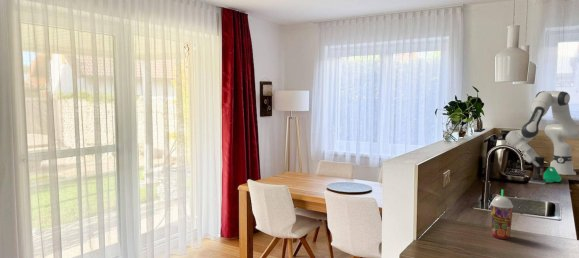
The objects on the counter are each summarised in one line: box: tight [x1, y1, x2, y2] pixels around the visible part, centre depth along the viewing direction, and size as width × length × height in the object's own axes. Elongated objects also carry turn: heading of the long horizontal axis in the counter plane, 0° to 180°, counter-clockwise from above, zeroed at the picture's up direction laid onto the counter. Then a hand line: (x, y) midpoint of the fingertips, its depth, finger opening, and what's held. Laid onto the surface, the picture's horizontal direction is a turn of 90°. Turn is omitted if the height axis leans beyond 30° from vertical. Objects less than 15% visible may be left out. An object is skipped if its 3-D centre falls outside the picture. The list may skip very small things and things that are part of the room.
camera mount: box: [543, 166, 562, 183], centre depth 274 cm, size 12×8×10 cm, turn 45°
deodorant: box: [532, 156, 545, 179], centre depth 270 cm, size 6×6×15 cm
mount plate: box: [528, 177, 549, 185], centre depth 270 cm, size 10×10×2 cm
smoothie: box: [490, 189, 514, 240], centre depth 161 cm, size 8×8×20 cm
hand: (539, 165), depth 269 cm, fingers closed on deodorant, 6 cm apart
